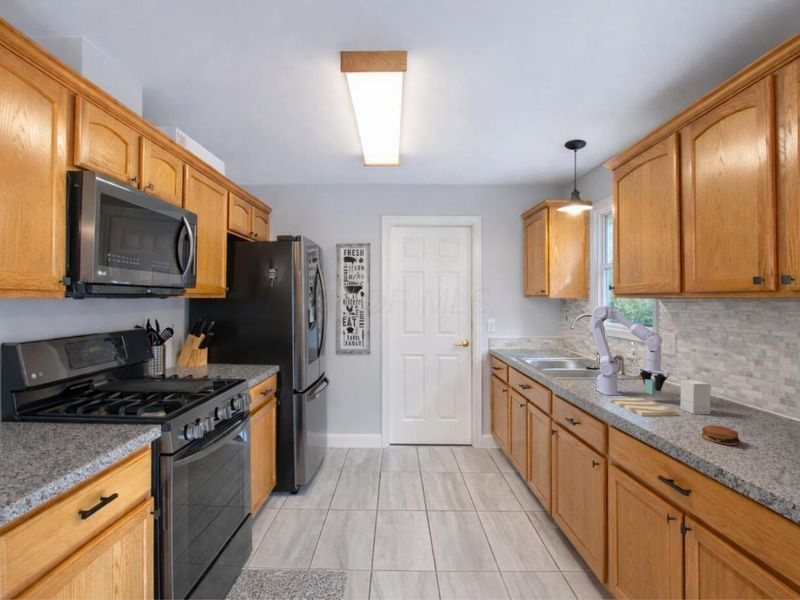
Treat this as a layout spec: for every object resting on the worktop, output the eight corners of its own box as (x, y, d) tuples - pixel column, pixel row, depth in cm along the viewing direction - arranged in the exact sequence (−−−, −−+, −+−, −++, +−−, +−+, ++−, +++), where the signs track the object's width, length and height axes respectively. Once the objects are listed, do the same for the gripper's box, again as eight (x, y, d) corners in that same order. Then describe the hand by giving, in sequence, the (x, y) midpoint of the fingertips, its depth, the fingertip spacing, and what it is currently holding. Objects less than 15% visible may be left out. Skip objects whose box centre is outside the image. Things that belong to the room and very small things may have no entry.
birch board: (609, 401, 168) (609, 398, 168) (642, 401, 169) (642, 398, 169) (641, 416, 148) (641, 412, 148) (678, 415, 149) (678, 411, 149)
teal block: (644, 391, 172) (644, 379, 172) (653, 391, 173) (653, 379, 173) (651, 394, 168) (652, 381, 168) (661, 394, 168) (661, 381, 168)
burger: (695, 434, 128) (695, 421, 128) (725, 436, 127) (725, 423, 127) (714, 446, 118) (715, 431, 118) (747, 448, 117) (747, 434, 117)
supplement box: (711, 414, 151) (711, 384, 151) (692, 414, 151) (693, 383, 151) (696, 409, 159) (697, 380, 158) (679, 408, 159) (680, 379, 159)
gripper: (633, 357, 176) (632, 385, 176) (661, 363, 162) (660, 393, 162) (644, 357, 178) (644, 385, 178) (673, 362, 164) (673, 392, 164)
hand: (652, 389), depth 170 cm, fingers closed on teal block, 5 cm apart
